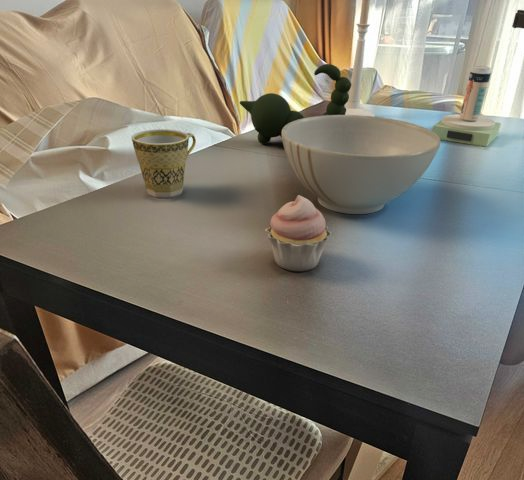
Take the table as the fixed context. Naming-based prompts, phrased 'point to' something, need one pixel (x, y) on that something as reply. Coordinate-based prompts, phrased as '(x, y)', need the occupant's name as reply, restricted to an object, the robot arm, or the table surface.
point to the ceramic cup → (162, 160)
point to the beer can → (475, 93)
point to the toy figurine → (279, 113)
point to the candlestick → (359, 67)
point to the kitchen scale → (467, 130)
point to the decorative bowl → (358, 159)
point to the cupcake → (298, 235)
